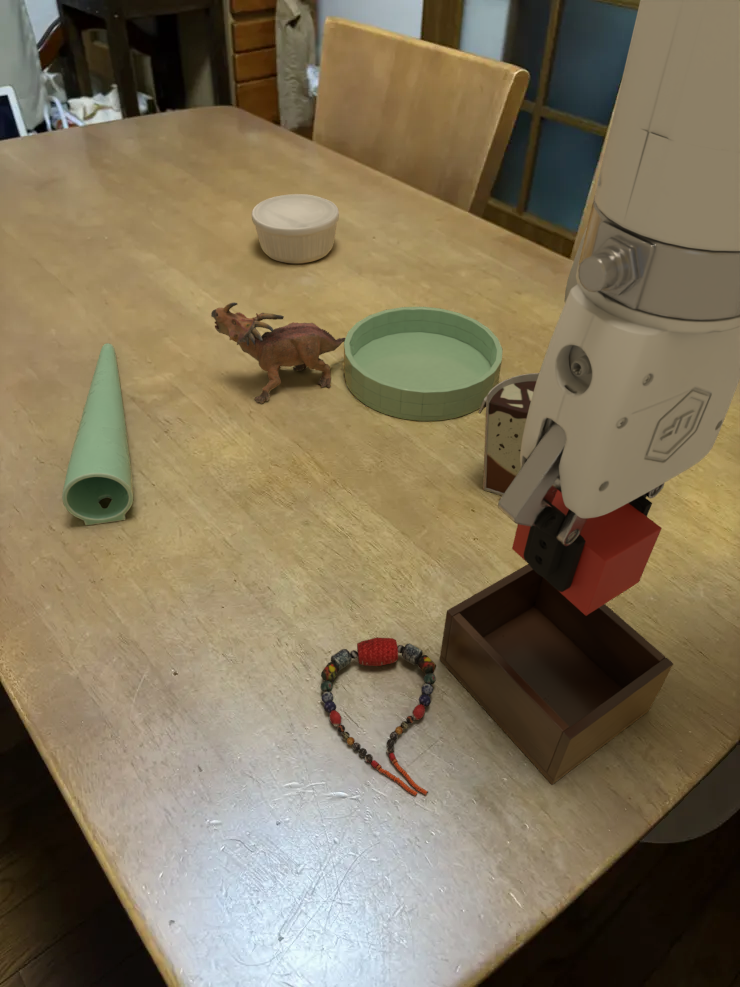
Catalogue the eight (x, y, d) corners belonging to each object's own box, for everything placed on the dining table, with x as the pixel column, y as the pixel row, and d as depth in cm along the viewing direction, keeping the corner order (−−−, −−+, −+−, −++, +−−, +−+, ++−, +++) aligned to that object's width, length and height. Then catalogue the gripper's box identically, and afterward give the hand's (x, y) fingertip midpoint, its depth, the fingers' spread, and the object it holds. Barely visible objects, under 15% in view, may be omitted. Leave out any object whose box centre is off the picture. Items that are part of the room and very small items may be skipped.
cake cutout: (619, 484, 67) (650, 392, 61) (605, 528, 63) (636, 435, 57) (488, 445, 71) (504, 354, 64) (467, 484, 67) (481, 392, 60)
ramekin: (244, 263, 97) (240, 223, 94) (268, 227, 105) (265, 189, 102) (328, 272, 96) (328, 232, 92) (346, 235, 104) (346, 197, 100)
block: (639, 582, 43) (662, 527, 40) (585, 616, 41) (605, 561, 38) (563, 520, 47) (579, 465, 44) (511, 549, 45) (524, 493, 42)
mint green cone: (125, 303, 78) (126, 469, 59) (135, 349, 82) (139, 518, 63) (71, 308, 77) (54, 478, 58) (83, 354, 81) (71, 528, 62)
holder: (649, 711, 51) (674, 663, 47) (551, 785, 47) (570, 739, 43) (533, 602, 57) (546, 552, 53) (439, 659, 53) (446, 610, 50)
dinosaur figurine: (232, 410, 74) (221, 327, 68) (219, 377, 78) (208, 296, 72) (362, 384, 78) (363, 304, 72) (343, 355, 82) (343, 276, 76)
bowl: (501, 343, 84) (505, 315, 82) (493, 430, 73) (498, 401, 70) (359, 327, 86) (360, 299, 84) (329, 410, 75) (329, 380, 72)
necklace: (428, 641, 54) (430, 627, 53) (458, 796, 47) (461, 784, 45) (317, 652, 54) (316, 637, 52) (330, 811, 46) (329, 799, 45)
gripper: (603, 358, 25) (514, 671, 37) (873, 243, 32) (723, 537, 45) (459, 268, 29) (422, 574, 42) (725, 185, 37) (626, 467, 49)
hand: (578, 553), depth 43 cm, fingers closed on block, 4 cm apart
